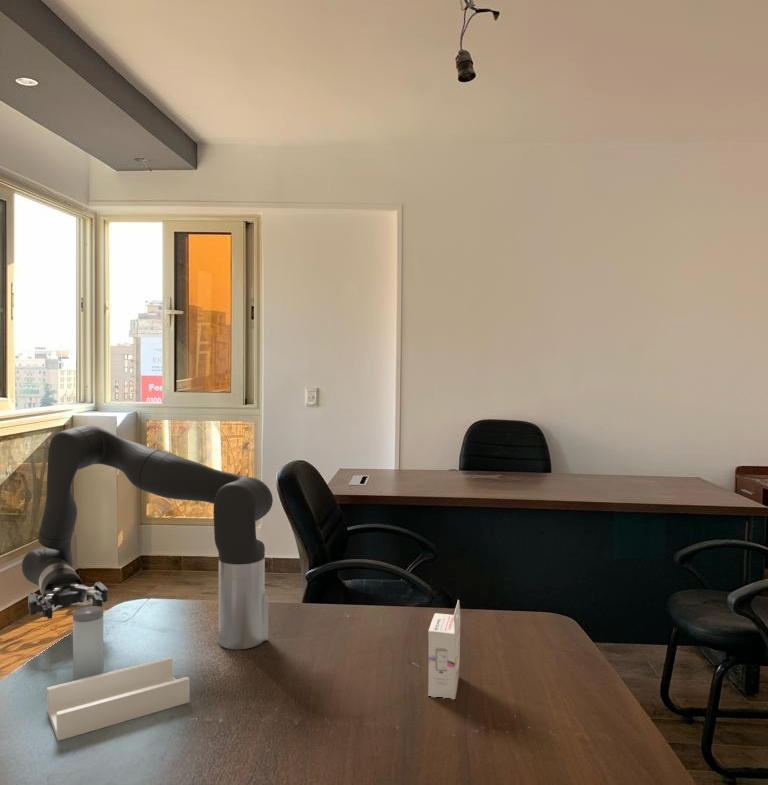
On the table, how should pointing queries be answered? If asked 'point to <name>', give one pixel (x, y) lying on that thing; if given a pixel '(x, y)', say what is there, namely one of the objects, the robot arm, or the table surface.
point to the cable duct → (114, 697)
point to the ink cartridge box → (444, 654)
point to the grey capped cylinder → (87, 642)
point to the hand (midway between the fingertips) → (74, 609)
